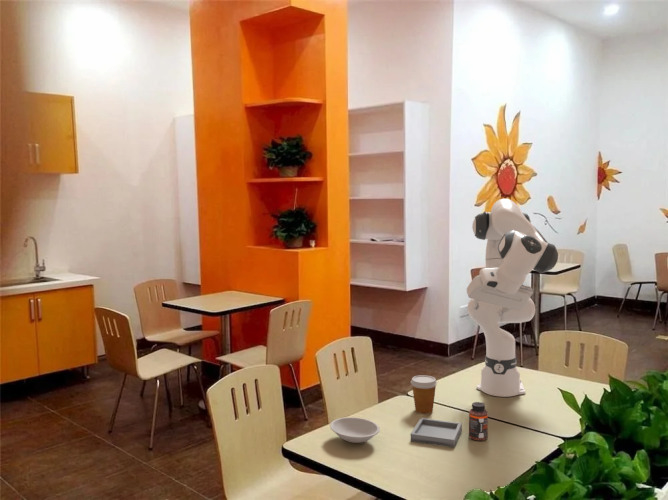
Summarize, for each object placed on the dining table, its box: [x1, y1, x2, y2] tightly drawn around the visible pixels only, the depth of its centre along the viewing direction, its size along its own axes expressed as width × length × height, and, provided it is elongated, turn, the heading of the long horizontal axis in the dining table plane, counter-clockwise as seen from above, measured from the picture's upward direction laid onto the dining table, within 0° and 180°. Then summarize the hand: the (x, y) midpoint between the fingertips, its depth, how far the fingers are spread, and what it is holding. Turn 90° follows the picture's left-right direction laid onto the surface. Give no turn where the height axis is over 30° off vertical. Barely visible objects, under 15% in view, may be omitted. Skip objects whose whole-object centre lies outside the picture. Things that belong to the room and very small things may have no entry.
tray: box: [410, 417, 463, 448], centre depth 187 cm, size 14×14×2 cm
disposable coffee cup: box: [410, 374, 438, 415], centre depth 209 cm, size 10×10×12 cm
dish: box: [329, 416, 380, 444], centre depth 184 cm, size 18×14×5 cm
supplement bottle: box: [468, 401, 489, 442], centre depth 185 cm, size 6×6×11 cm
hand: (487, 311), depth 190 cm, fingers open, 8 cm apart
